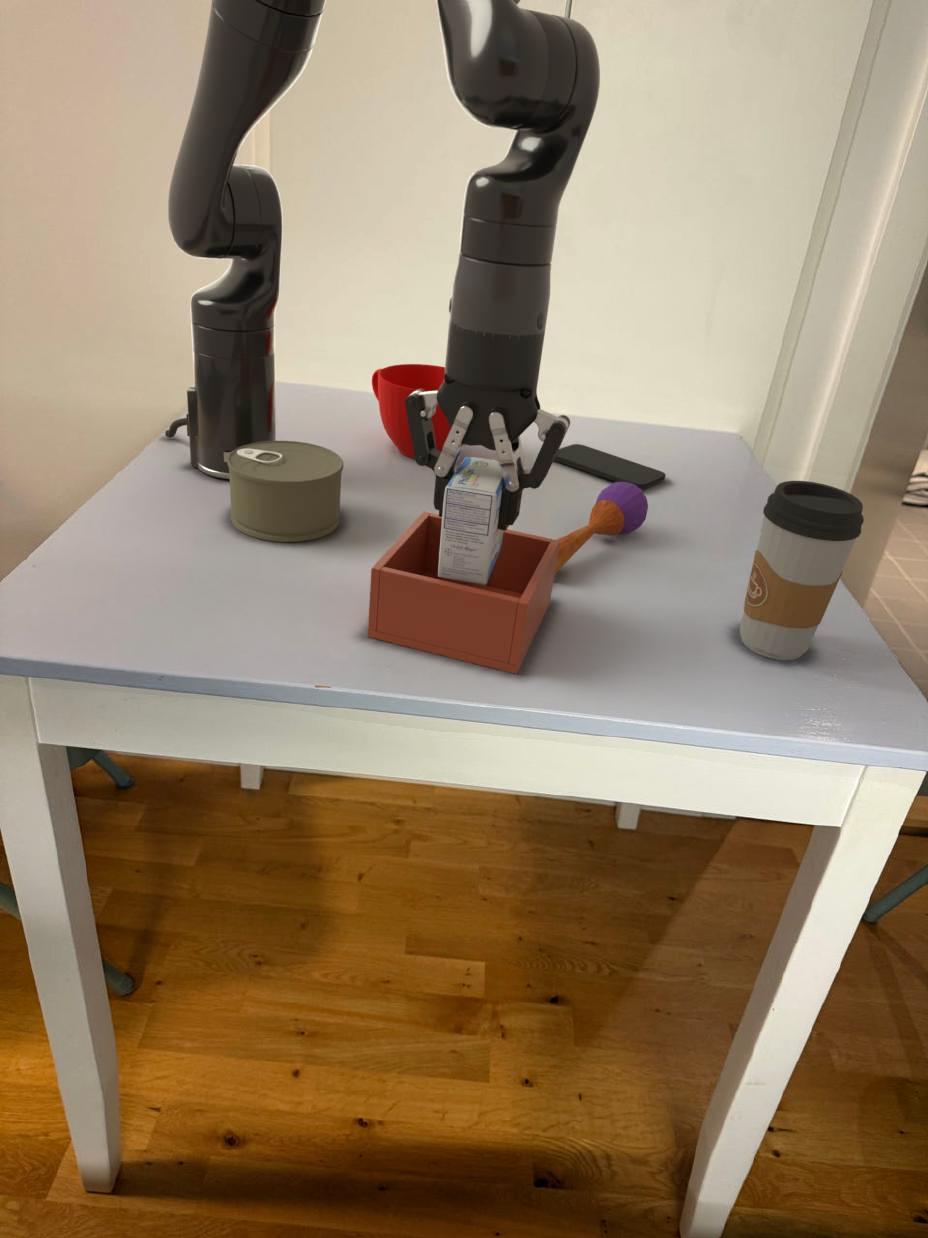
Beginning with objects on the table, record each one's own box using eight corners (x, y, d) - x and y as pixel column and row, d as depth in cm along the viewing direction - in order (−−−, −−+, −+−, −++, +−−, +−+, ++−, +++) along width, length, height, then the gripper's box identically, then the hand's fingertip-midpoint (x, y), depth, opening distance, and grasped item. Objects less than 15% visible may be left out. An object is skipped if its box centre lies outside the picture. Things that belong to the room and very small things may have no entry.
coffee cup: (715, 619, 88) (755, 475, 80) (795, 623, 89) (842, 481, 81) (745, 666, 81) (792, 513, 73) (832, 669, 82) (887, 519, 74)
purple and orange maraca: (515, 532, 91) (610, 472, 105) (519, 585, 94) (611, 519, 108) (565, 541, 88) (657, 478, 102) (568, 595, 91) (656, 527, 104)
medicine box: (486, 588, 76) (498, 493, 72) (435, 578, 77) (444, 484, 73) (501, 550, 83) (513, 462, 79) (454, 542, 84) (464, 453, 79)
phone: (577, 442, 128) (669, 473, 120) (576, 448, 129) (668, 479, 121) (547, 452, 123) (641, 485, 115) (546, 458, 123) (640, 491, 116)
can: (312, 552, 92) (313, 489, 88) (207, 528, 94) (204, 466, 91) (358, 511, 102) (360, 453, 98) (262, 490, 104) (261, 433, 101)
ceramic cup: (405, 421, 131) (410, 352, 126) (489, 456, 122) (498, 383, 117) (335, 435, 123) (338, 362, 118) (420, 475, 113) (426, 397, 108)
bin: (367, 637, 78) (371, 567, 75) (418, 573, 90) (423, 510, 87) (516, 674, 76) (527, 604, 72) (549, 603, 87) (560, 540, 84)
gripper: (596, 325, 71) (562, 522, 80) (426, 297, 74) (411, 490, 83) (579, 343, 65) (545, 555, 73) (394, 312, 68) (382, 519, 76)
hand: (474, 519), depth 78 cm, fingers closed on medicine box, 4 cm apart
